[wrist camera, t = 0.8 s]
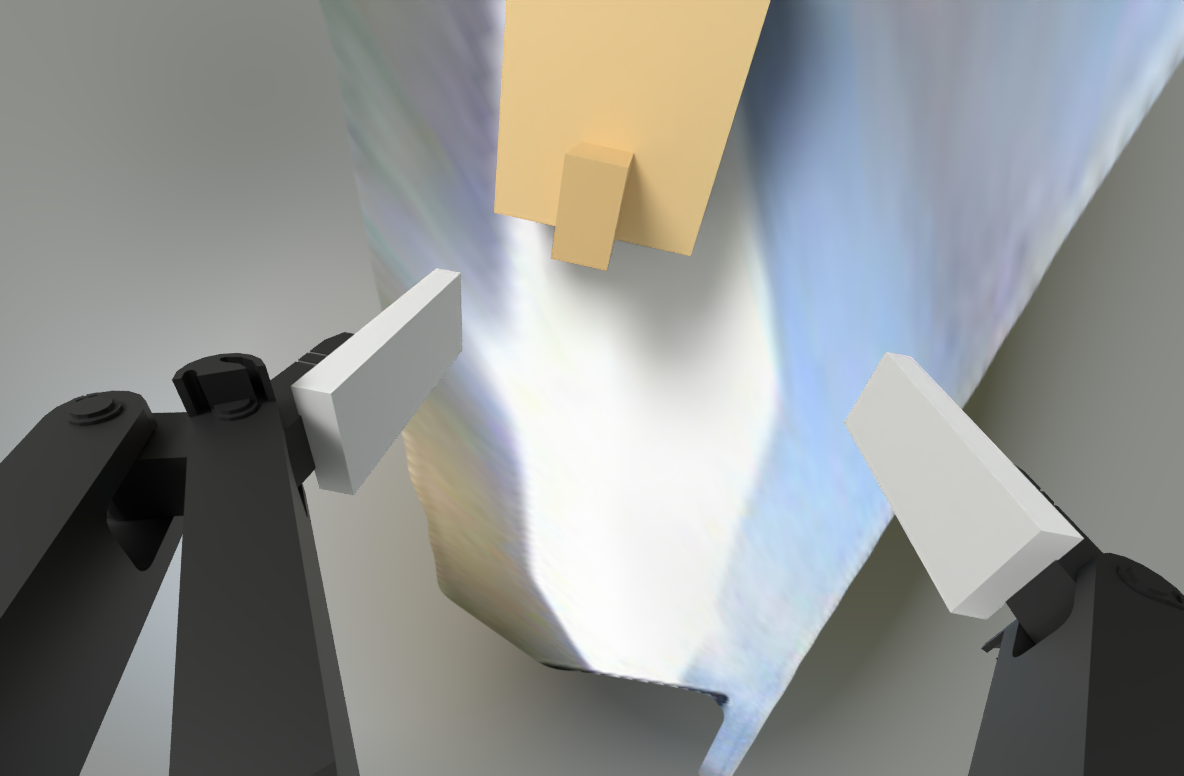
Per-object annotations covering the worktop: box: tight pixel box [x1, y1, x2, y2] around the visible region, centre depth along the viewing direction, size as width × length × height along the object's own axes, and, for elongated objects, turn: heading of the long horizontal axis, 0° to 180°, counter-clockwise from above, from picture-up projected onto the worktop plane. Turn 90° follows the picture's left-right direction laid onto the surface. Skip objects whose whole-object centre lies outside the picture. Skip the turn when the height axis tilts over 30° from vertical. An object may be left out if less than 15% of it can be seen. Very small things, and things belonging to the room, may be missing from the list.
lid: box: [494, 0, 770, 271], centre depth 22 cm, size 19×13×8 cm
